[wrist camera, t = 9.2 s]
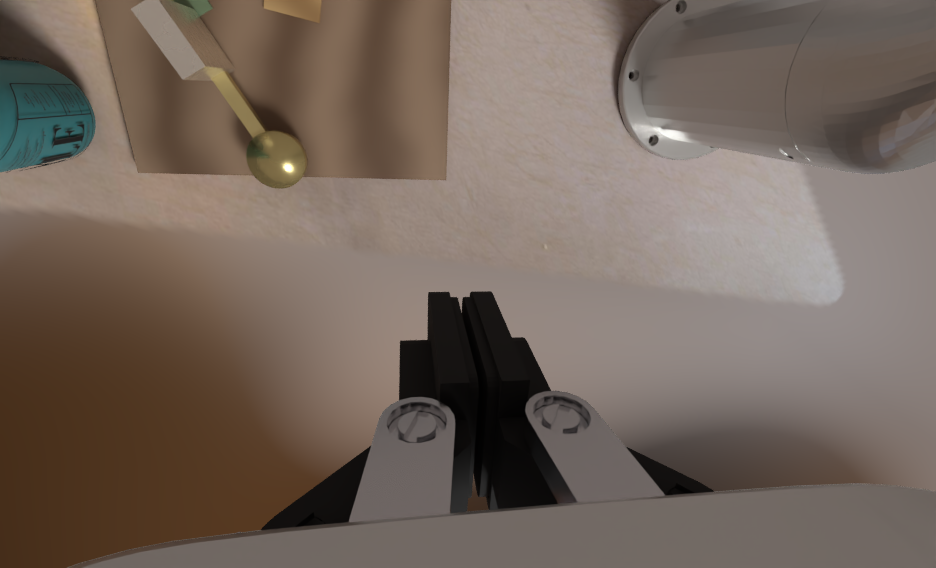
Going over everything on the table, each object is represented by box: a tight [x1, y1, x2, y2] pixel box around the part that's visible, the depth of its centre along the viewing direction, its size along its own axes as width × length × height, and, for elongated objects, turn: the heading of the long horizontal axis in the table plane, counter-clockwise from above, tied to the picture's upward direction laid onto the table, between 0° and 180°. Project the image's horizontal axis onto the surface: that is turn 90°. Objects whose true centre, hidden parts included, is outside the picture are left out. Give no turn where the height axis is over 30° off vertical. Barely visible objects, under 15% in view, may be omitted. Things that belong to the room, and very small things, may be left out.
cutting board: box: [95, 0, 451, 180], centre depth 32 cm, size 23×13×2 cm, turn 87°
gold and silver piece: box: [131, 0, 308, 188], centre depth 29 cm, size 14×4×5 cm, turn 27°
